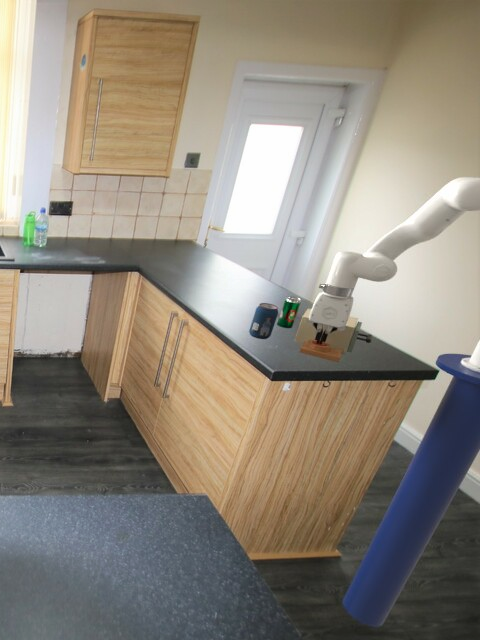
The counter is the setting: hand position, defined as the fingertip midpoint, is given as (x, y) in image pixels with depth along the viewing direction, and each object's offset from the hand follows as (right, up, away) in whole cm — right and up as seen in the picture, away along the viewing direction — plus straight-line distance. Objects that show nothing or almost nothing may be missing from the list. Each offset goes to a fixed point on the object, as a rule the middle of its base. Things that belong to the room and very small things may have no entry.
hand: (319, 342), depth 159 cm
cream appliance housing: (+8, 0, +10) cm, 13 cm away
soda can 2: (+4, +6, +23) cm, 24 cm away
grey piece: (+11, 0, +7) cm, 13 cm away
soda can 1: (-12, +2, +14) cm, 18 cm away
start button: (0, -2, +1) cm, 2 cm away
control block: (+1, -4, +1) cm, 4 cm away
